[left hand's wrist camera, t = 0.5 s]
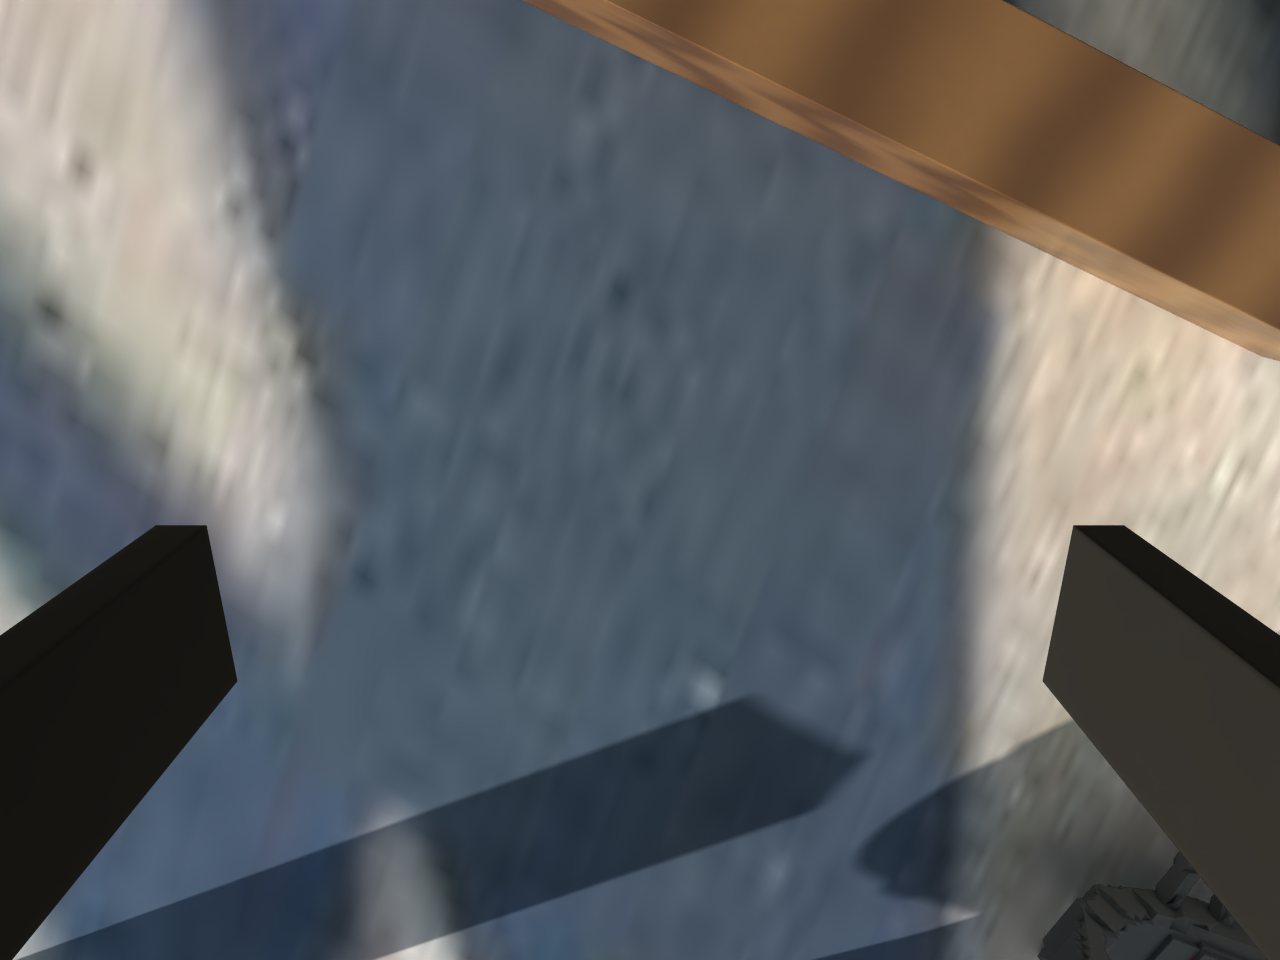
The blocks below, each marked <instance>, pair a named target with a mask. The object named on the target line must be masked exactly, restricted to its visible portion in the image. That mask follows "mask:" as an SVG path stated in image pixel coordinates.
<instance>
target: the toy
mask: <svg viewBox="0 0 1280 960" xmlns="http://www.w3.org/2000/svg"><path fill="white" fill-rule="evenodd" d="M1199 877H1200V875H1199V874H1198V873H1197V871H1196V870H1195V869H1194V868H1193V867H1192V865H1191V864H1190V863H1189V862H1188V860H1187V859H1186V858H1185V857H1184V855H1183V854H1182V853H1181V852H1180V851H1179V852H1178V854H1177V855H1176V856H1175V858H1174V865H1173V866H1172V867H1171V868H1170V870H1169V871H1168V872H1167V873H1166V874H1165V876H1164V877H1163V878H1162V879H1161V880H1160V881H1159V883H1158V884H1157V885H1156V890H1147V889H1138V888H1127V887H1122V886H1119V887H1118V888H1116V887H1113V886H1110V885H1109V886H1108V887H1105V886H1102V885H1100V884H1098V885H1095V884H1094V885H1093V887H1092V888H1091V889H1090V890H1089V891H1087V893H1086V894H1085V895H1084V897H1083V898H1082V899H1080V898H1077V899H1076V900H1075V901H1074V903H1073V904H1072V905H1071V906H1070V907H1069V909H1068V910H1067V911H1066V912H1065V913H1064V915H1063V916H1062V917H1061V918H1060V919H1059V921H1058V922H1057V923H1056V924H1055V925H1054V927H1053V928H1052V929H1051V930H1050V931H1049V933H1048V934H1047V935H1046V936H1045V938H1044V939H1043V941H1044V943H1045V945H1046V946H1045V948H1044V949H1043V950H1042V951H1041V952H1040V954H1039V955H1038V958H1039V959H1040V960H1268V959H1267V958H1266V957H1265V956H1264V954H1263V953H1262V952H1261V951H1260V949H1259V948H1258V947H1257V946H1256V944H1255V943H1254V942H1253V941H1252V940H1251V938H1250V937H1249V936H1248V935H1247V933H1246V932H1245V931H1244V930H1243V928H1242V927H1241V926H1240V925H1239V923H1238V922H1237V921H1236V920H1235V919H1234V917H1233V916H1232V915H1231V914H1230V912H1229V911H1228V910H1227V909H1226V907H1225V906H1224V905H1223V904H1222V902H1221V901H1220V900H1219V899H1218V897H1217V896H1216V895H1215V894H1214V895H1213V896H1212V898H1211V901H1210V904H1208V903H1205V902H1203V901H1200V900H1198V899H1195V898H1191V897H1188V896H1186V895H1187V893H1188V892H1189V891H1190V889H1191V888H1192V887H1193V885H1194V884H1195V883H1196V881H1197V880H1198V879H1199Z"/></svg>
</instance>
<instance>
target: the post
mask: <svg viewBox="0 0 1280 960" xmlns="http://www.w3.org/2000/svg"><path fill="white" fill-rule="evenodd" d="M522 1H524V2H526V3H528V4H530V5H532V6H535V7H537V8H539V9H541V10H543V11H545V12H547V13H549V14H551V15H553V16H555V17H557V18H560V19H562V20H564V21H566V22H568V23H570V24H572V25H574V26H576V27H578V28H580V29H582V30H584V31H587V32H589V33H591V34H593V35H595V36H597V37H599V38H601V39H603V40H605V41H607V42H609V43H612V44H614V45H616V46H618V47H620V48H622V49H624V50H626V51H628V52H630V53H632V54H634V55H636V56H639V57H641V58H643V59H645V60H647V61H649V62H651V63H653V64H655V65H657V66H659V67H661V68H663V69H666V70H668V71H670V72H672V73H674V74H676V75H678V76H680V77H682V78H684V79H686V80H688V81H691V82H693V83H695V84H697V85H699V86H701V87H703V88H705V89H707V90H709V91H711V92H713V93H715V94H718V95H720V96H722V97H724V98H726V99H728V100H730V101H732V102H734V103H736V104H738V105H740V106H742V107H745V108H747V109H749V110H751V111H753V112H755V113H757V114H759V115H761V116H763V117H765V118H767V119H770V120H772V121H774V122H776V123H778V124H780V125H782V126H784V127H786V128H788V129H790V130H792V131H794V132H797V133H799V134H801V135H803V136H805V137H807V138H809V139H811V140H813V141H815V142H817V143H819V144H821V145H824V146H826V147H828V148H830V149H832V150H834V151H836V152H838V153H840V154H842V155H844V156H846V157H849V158H851V159H853V160H855V161H857V162H859V163H861V164H863V165H865V166H867V167H869V168H871V169H873V170H876V171H878V172H880V173H882V174H884V175H886V176H888V177H890V178H892V179H894V180H896V181H898V182H901V183H903V184H905V185H907V186H909V187H911V188H913V189H915V190H917V191H919V192H921V193H923V194H925V195H928V196H930V197H932V198H934V199H936V200H938V201H940V202H942V203H944V204H946V205H948V206H950V207H952V208H955V209H957V210H959V211H961V212H963V213H965V214H967V215H969V216H971V217H973V218H975V219H977V220H980V221H982V222H984V223H986V224H988V225H990V226H992V227H994V228H996V229H998V230H1000V231H1002V232H1004V233H1007V234H1009V235H1011V236H1013V237H1015V238H1017V239H1019V240H1021V241H1023V242H1025V243H1027V244H1029V245H1031V246H1034V247H1036V248H1038V249H1040V250H1042V251H1044V252H1046V253H1048V254H1050V255H1052V256H1054V257H1056V258H1059V259H1061V260H1063V261H1065V262H1067V263H1069V264H1071V265H1073V266H1075V267H1077V268H1079V269H1081V270H1083V271H1086V272H1088V273H1090V274H1092V275H1094V276H1096V277H1098V278H1100V279H1102V280H1104V281H1106V282H1108V283H1111V284H1113V285H1115V286H1117V287H1119V288H1121V289H1123V290H1125V291H1127V292H1129V293H1131V294H1133V295H1135V296H1138V297H1140V298H1142V299H1144V300H1146V301H1148V302H1150V303H1152V304H1154V305H1156V306H1158V307H1160V308H1162V309H1165V310H1167V311H1169V312H1171V313H1173V314H1175V315H1177V316H1179V317H1181V318H1183V319H1185V320H1187V321H1190V322H1192V323H1194V324H1196V325H1198V326H1200V327H1202V328H1204V329H1206V330H1208V331H1210V332H1212V333H1214V334H1217V335H1219V336H1221V337H1223V338H1225V339H1227V340H1229V341H1231V342H1233V343H1235V344H1237V345H1239V346H1241V347H1244V348H1246V349H1248V350H1250V351H1252V352H1254V353H1256V354H1258V355H1260V356H1262V357H1266V358H1270V359H1274V360H1277V361H1280V145H1278V144H1276V143H1274V142H1272V141H1270V140H1269V139H1267V138H1265V137H1263V136H1261V135H1259V134H1257V133H1255V132H1253V131H1251V130H1250V129H1248V128H1246V127H1244V126H1242V125H1240V124H1238V123H1236V122H1234V121H1232V120H1231V119H1229V118H1227V117H1225V116H1223V115H1221V114H1219V113H1217V112H1215V111H1213V110H1212V109H1210V108H1208V107H1206V106H1204V105H1202V104H1200V103H1198V102H1196V101H1194V100H1193V99H1191V98H1189V97H1187V96H1185V95H1183V94H1181V93H1179V92H1177V91H1175V90H1173V89H1172V88H1170V87H1168V86H1166V85H1164V84H1162V83H1160V82H1158V81H1156V80H1154V79H1153V78H1151V77H1149V76H1147V75H1145V74H1143V73H1141V72H1139V71H1137V70H1135V69H1134V68H1132V67H1130V66H1128V65H1126V64H1124V63H1122V62H1120V61H1118V60H1116V59H1115V58H1113V57H1111V56H1109V55H1107V54H1105V53H1103V52H1101V51H1099V50H1097V49H1096V48H1094V47H1092V46H1090V45H1088V44H1086V43H1084V42H1082V41H1080V40H1078V39H1077V38H1075V37H1073V36H1071V35H1069V34H1067V33H1065V32H1063V31H1061V30H1059V29H1057V28H1056V27H1054V26H1052V25H1050V24H1048V23H1046V22H1044V21H1042V20H1040V19H1038V18H1037V17H1035V16H1033V15H1031V14H1029V13H1027V12H1025V11H1023V10H1021V9H1019V8H1018V7H1016V6H1014V5H1012V4H1010V3H1008V2H1006V1H1004V0H522Z"/></svg>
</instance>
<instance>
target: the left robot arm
mask: <svg viewBox="0 0 1280 960" xmlns="http://www.w3.org/2000/svg"><path fill="white" fill-rule="evenodd" d="M236 682H237V677H236V672H235V667H234V661H233V656H232V651H231V646H230V641H229V636H228V631H227V626H226V621H225V616H224V611H223V606H222V601H221V596H220V591H219V586H218V581H217V576H216V571H215V566H214V561H213V556H212V551H211V546H210V541H209V535H208V530H207V525H156V526H154V527H153V528H152V529H150V530H149V531H147V532H146V533H145V534H143V535H142V536H140V537H139V538H137V539H136V540H135V541H133V542H132V543H130V544H129V545H128V546H126V547H125V548H123V549H122V550H120V551H119V552H118V553H116V554H115V555H113V556H112V557H111V558H109V559H108V560H106V561H105V562H104V563H102V564H101V565H99V566H98V567H96V568H95V569H94V570H92V571H91V572H89V573H88V574H87V575H85V576H84V577H82V578H81V579H79V580H78V581H77V582H75V583H74V584H72V585H71V586H70V587H68V588H67V589H65V590H64V591H63V592H61V593H60V594H58V595H57V596H55V597H54V598H53V599H51V600H50V601H48V602H47V603H46V604H44V605H43V606H41V607H40V608H39V609H37V610H36V611H34V612H33V613H31V614H30V615H29V616H27V617H26V618H24V619H23V620H22V621H20V622H19V623H17V624H16V625H14V626H13V627H12V628H10V629H9V630H7V631H6V632H5V633H3V634H2V635H0V960H12V959H13V958H14V957H15V956H16V954H17V953H18V952H19V951H20V949H21V948H22V947H23V946H24V944H25V943H26V942H27V941H28V940H29V938H30V937H31V936H32V935H33V933H34V932H35V931H36V930H37V928H38V927H39V926H40V925H41V923H42V922H43V921H44V920H45V919H46V917H47V916H48V915H49V914H50V912H51V911H52V910H53V909H54V907H55V906H56V905H57V904H58V902H59V901H60V900H61V899H62V897H63V896H64V895H65V894H66V893H67V891H68V890H69V889H70V888H71V886H72V885H73V884H74V883H75V881H76V880H77V879H78V878H79V876H80V875H81V874H82V873H83V871H84V870H85V869H86V868H87V867H88V865H89V864H90V863H91V862H92V860H93V859H94V858H95V857H96V855H97V854H98V853H99V852H100V850H101V849H102V848H103V847H104V846H105V844H106V843H107V842H108V841H109V839H110V838H111V837H112V836H113V834H114V833H115V832H116V831H117V829H118V828H119V827H120V826H121V824H122V823H123V822H124V821H125V820H126V818H127V817H128V816H129V815H130V813H131V812H132V811H133V810H134V808H135V807H136V806H137V805H138V803H139V802H140V801H141V800H142V798H143V797H144V796H145V795H146V794H147V792H148V791H149V790H150V789H151V787H152V786H153V785H154V784H155V782H156V781H157V780H158V779H159V777H160V776H161V775H162V774H163V773H164V771H165V770H166V769H167V768H168V766H169V765H170V764H171V763H172V761H173V760H174V759H175V758H176V756H177V755H178V754H179V753H180V751H181V750H182V749H183V748H184V747H185V745H186V744H187V743H188V742H189V740H190V739H191V738H192V737H193V735H194V734H195V733H196V732H197V730H198V729H199V728H200V727H201V725H202V724H203V723H204V722H205V721H206V719H207V718H208V717H209V716H210V714H211V713H212V712H213V711H214V709H215V708H216V707H217V706H218V704H219V703H220V702H221V701H222V700H223V698H224V697H225V696H226V695H227V693H228V692H229V691H230V690H231V688H232V687H233V686H234V685H235V683H236ZM1043 682H1044V683H1045V685H1046V686H1047V687H1048V688H1049V690H1050V691H1051V692H1052V693H1053V695H1054V696H1055V697H1056V698H1057V700H1058V701H1059V702H1060V703H1061V704H1062V706H1063V707H1064V708H1065V709H1066V711H1067V712H1068V713H1069V714H1070V716H1071V717H1072V718H1073V719H1074V721H1075V722H1076V723H1077V724H1078V725H1079V727H1080V728H1081V729H1082V730H1083V732H1084V733H1085V734H1086V735H1087V737H1088V738H1089V739H1090V740H1091V742H1092V743H1093V744H1094V745H1095V747H1096V748H1097V749H1098V750H1099V751H1100V753H1101V754H1102V755H1103V756H1104V758H1105V759H1106V760H1107V761H1108V763H1109V764H1110V765H1111V766H1112V768H1113V769H1114V770H1115V771H1116V773H1117V774H1118V775H1119V776H1120V777H1121V779H1122V780H1123V781H1124V782H1125V784H1126V785H1127V786H1128V787H1129V789H1130V790H1131V791H1132V792H1133V794H1134V795H1135V796H1136V797H1137V798H1138V800H1139V801H1140V802H1141V803H1142V805H1143V806H1144V807H1145V808H1146V810H1147V811H1148V812H1149V813H1150V815H1151V816H1152V817H1153V818H1154V820H1155V821H1156V822H1157V823H1158V824H1159V826H1160V827H1161V828H1162V829H1163V831H1164V832H1165V833H1166V834H1167V836H1168V837H1169V838H1170V839H1171V841H1172V842H1173V843H1174V844H1175V846H1176V847H1177V848H1178V849H1179V850H1180V852H1181V853H1182V854H1183V855H1184V857H1185V858H1186V859H1187V860H1188V862H1189V863H1190V864H1191V865H1192V867H1193V868H1194V869H1195V870H1196V871H1197V873H1198V874H1199V875H1200V876H1201V878H1202V879H1203V880H1204V881H1205V883H1206V884H1207V885H1208V886H1209V888H1210V889H1211V890H1212V891H1213V893H1214V894H1215V895H1216V896H1217V897H1218V899H1219V900H1220V901H1221V902H1222V904H1223V905H1224V906H1225V907H1226V909H1227V910H1228V911H1229V912H1230V914H1231V915H1232V916H1233V917H1234V919H1235V920H1236V921H1237V922H1238V923H1239V925H1240V926H1241V927H1242V928H1243V930H1244V931H1245V932H1246V933H1247V935H1248V936H1249V937H1250V938H1251V940H1252V941H1253V942H1254V943H1255V944H1256V946H1257V947H1258V948H1259V949H1260V951H1261V952H1262V953H1263V954H1264V956H1265V957H1266V958H1267V959H1268V960H1280V635H1278V634H1277V633H1275V632H1274V631H1273V630H1271V629H1270V628H1268V627H1267V626H1266V625H1264V624H1263V623H1261V622H1260V621H1258V620H1257V619H1256V618H1254V617H1253V616H1251V615H1250V614H1249V613H1247V612H1246V611H1244V610H1243V609H1241V608H1240V607H1239V606H1237V605H1236V604H1234V603H1233V602H1232V601H1230V600H1229V599H1227V598H1226V597H1225V596H1223V595H1222V594H1220V593H1219V592H1217V591H1216V590H1215V589H1213V588H1212V587H1210V586H1209V585H1208V584H1206V583H1205V582H1203V581H1202V580H1201V579H1199V578H1198V577H1196V576H1195V575H1193V574H1192V573H1191V572H1189V571H1188V570H1186V569H1185V568H1184V567H1182V566H1181V565H1179V564H1178V563H1176V562H1175V561H1174V560H1172V559H1171V558H1169V557H1168V556H1167V555H1165V554H1164V553H1162V552H1161V551H1160V550H1158V549H1157V548H1155V547H1154V546H1152V545H1151V544H1150V543H1148V542H1147V541H1145V540H1144V539H1143V538H1141V537H1140V536H1138V535H1137V534H1135V533H1134V532H1133V531H1131V530H1130V529H1128V528H1127V527H1126V526H1124V525H1073V530H1072V535H1071V541H1070V546H1069V551H1068V556H1067V561H1066V566H1065V571H1064V576H1063V581H1062V586H1061V591H1060V596H1059V601H1058V606H1057V611H1056V616H1055V621H1054V626H1053V631H1052V636H1051V641H1050V646H1049V651H1048V656H1047V661H1046V667H1045V672H1044V677H1043Z"/></svg>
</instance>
